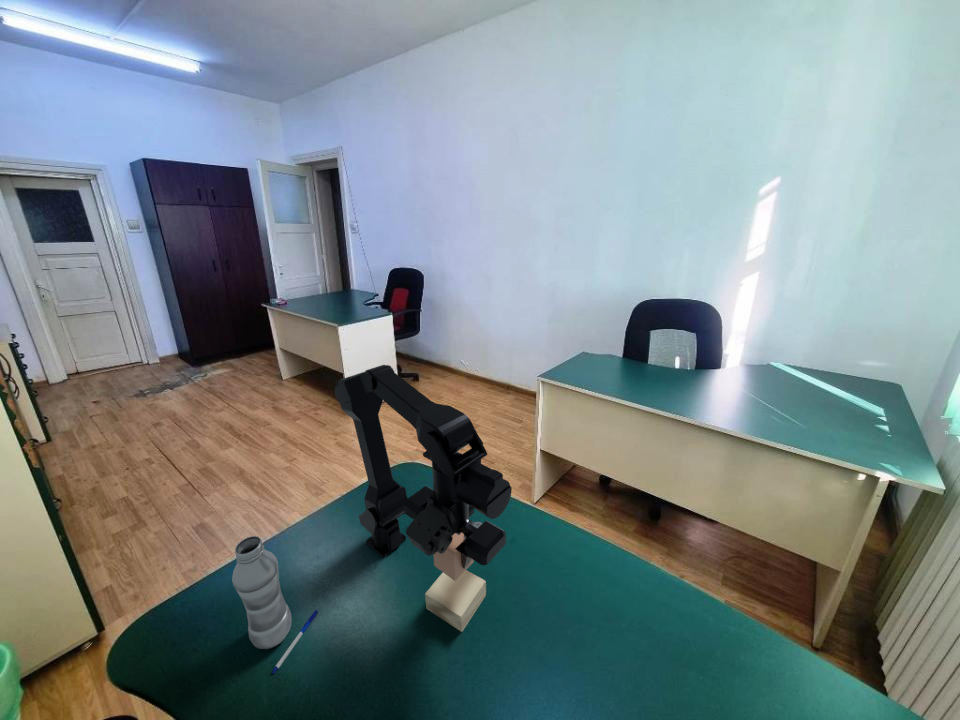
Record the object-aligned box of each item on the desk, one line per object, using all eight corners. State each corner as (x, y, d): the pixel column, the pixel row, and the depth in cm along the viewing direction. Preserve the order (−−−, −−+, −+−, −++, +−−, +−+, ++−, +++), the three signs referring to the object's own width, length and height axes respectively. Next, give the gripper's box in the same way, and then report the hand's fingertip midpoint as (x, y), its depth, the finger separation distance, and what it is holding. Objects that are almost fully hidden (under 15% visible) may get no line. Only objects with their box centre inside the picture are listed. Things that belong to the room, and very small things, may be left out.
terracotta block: (434, 565, 66) (432, 539, 64) (453, 547, 70) (452, 522, 68) (455, 581, 63) (453, 554, 61) (473, 561, 67) (473, 535, 65)
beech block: (426, 609, 69) (425, 593, 67) (452, 577, 75) (451, 561, 74) (461, 633, 65) (461, 616, 63) (485, 596, 71) (485, 581, 70)
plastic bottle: (251, 663, 60) (220, 570, 53) (253, 626, 66) (226, 537, 59) (294, 643, 63) (271, 552, 56) (293, 609, 69) (271, 523, 62)
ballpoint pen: (314, 611, 68) (313, 607, 68) (318, 612, 68) (318, 608, 68) (271, 674, 59) (270, 670, 59) (276, 675, 59) (275, 671, 58)
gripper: (375, 488, 60) (384, 561, 66) (461, 545, 49) (464, 628, 55) (425, 457, 69) (429, 524, 74) (508, 500, 58) (507, 575, 63)
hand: (454, 558), depth 66 cm, fingers closed on terracotta block, 5 cm apart
